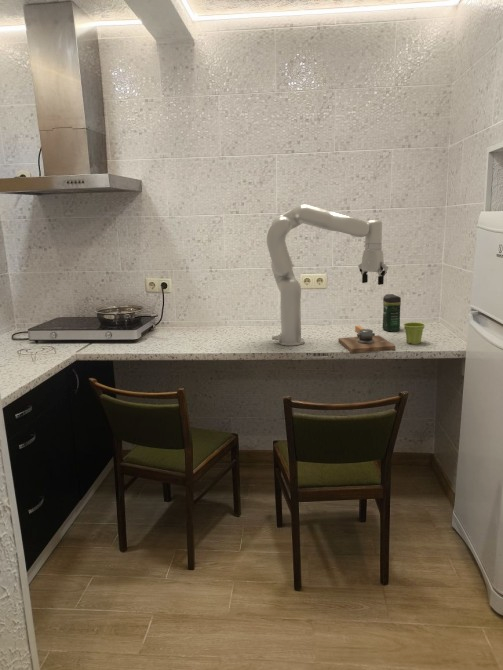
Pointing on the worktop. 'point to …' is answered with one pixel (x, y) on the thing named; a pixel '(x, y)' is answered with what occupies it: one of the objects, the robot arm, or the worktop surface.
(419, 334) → the plant pot
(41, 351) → the worktop surface
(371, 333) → the portafilter
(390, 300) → the coffee jar
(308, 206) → the robot arm
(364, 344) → the wooden cutting board
